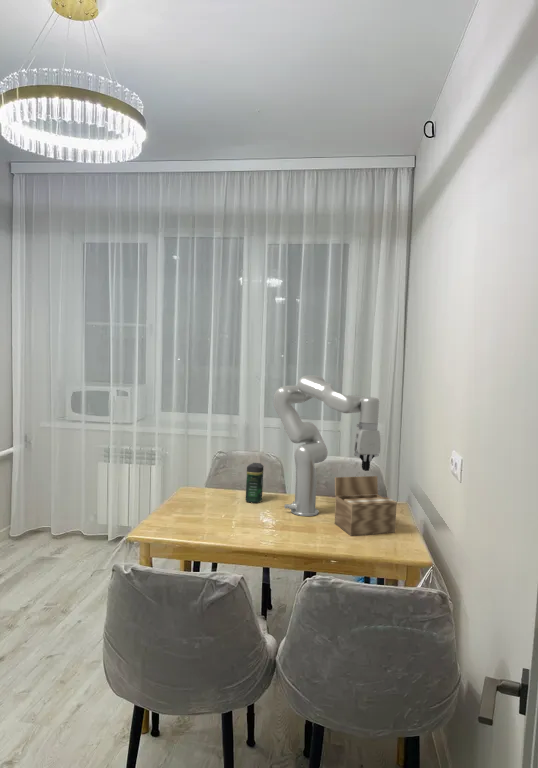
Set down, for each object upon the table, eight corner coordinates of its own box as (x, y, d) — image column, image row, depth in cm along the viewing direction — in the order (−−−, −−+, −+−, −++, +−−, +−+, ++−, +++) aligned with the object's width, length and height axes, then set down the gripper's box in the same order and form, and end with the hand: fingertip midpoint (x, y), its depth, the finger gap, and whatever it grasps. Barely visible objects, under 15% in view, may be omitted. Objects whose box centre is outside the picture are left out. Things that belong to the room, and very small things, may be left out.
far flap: (335, 477, 225) (330, 476, 230) (335, 495, 224) (330, 494, 229) (377, 476, 230) (371, 475, 236) (377, 494, 230) (371, 492, 235)
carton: (350, 536, 209) (352, 503, 209) (334, 523, 224) (335, 493, 224) (395, 533, 215) (396, 501, 214) (376, 521, 230) (377, 492, 230)
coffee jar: (259, 504, 251) (261, 465, 250) (243, 502, 253) (245, 464, 252) (263, 499, 261) (265, 462, 260) (248, 497, 262) (249, 461, 261)
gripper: (356, 428, 212) (353, 472, 213) (388, 428, 216) (385, 472, 218) (348, 425, 219) (345, 468, 220) (380, 425, 224) (377, 468, 225)
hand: (365, 470), depth 219 cm, fingers closed
